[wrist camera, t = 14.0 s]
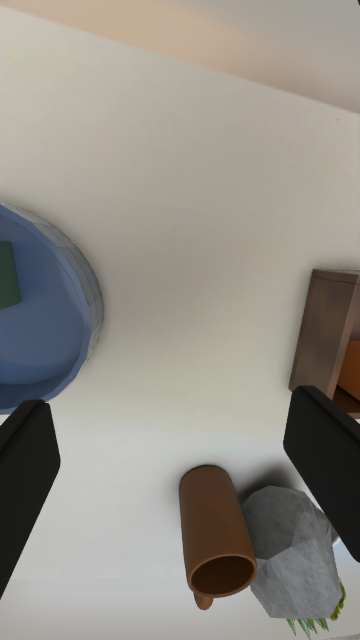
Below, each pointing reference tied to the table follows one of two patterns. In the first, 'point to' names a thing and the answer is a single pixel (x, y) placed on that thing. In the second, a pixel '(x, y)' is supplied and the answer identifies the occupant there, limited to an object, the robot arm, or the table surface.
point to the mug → (214, 536)
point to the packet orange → (351, 370)
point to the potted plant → (293, 557)
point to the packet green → (8, 277)
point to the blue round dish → (45, 311)
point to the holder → (328, 334)
